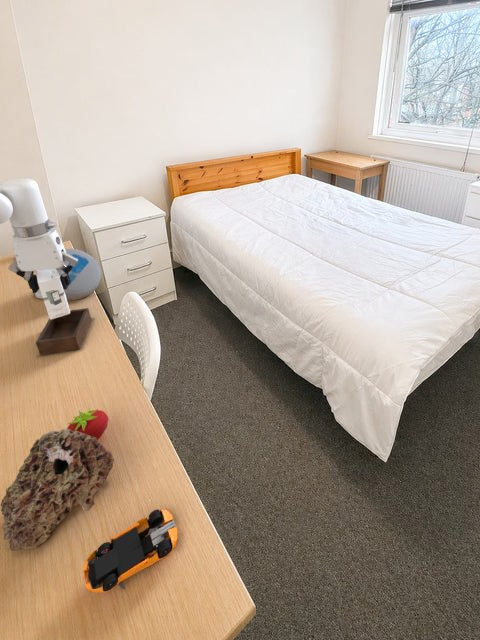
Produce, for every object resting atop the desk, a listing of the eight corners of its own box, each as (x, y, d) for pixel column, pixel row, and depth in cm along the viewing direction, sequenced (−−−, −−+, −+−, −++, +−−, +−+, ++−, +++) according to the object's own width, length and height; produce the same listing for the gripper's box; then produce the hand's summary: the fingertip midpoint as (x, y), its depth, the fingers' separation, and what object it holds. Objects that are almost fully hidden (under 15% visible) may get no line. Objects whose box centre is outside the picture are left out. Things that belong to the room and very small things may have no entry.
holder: (40, 355, 96) (35, 342, 94) (56, 324, 107) (52, 312, 105) (79, 349, 98) (75, 336, 96) (91, 320, 110) (88, 307, 108)
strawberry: (117, 443, 73) (107, 410, 69) (76, 466, 69) (62, 432, 65) (109, 423, 77) (99, 391, 73) (70, 444, 73) (57, 411, 69)
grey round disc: (28, 290, 110) (33, 284, 107) (49, 243, 121) (54, 236, 118) (90, 306, 121) (96, 301, 118) (104, 262, 132) (110, 256, 129)
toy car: (148, 604, 49) (150, 615, 50) (187, 511, 60) (188, 522, 61) (71, 583, 50) (75, 595, 52) (122, 496, 61) (125, 507, 63)
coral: (-26, 494, 61) (45, 539, 64) (-50, 534, 50) (36, 586, 53) (68, 401, 70) (125, 445, 73) (65, 418, 59) (133, 469, 62)
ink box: (46, 305, 100) (34, 269, 95) (66, 299, 103) (56, 264, 98) (49, 320, 94) (37, 283, 89) (71, 313, 97) (60, 277, 92)
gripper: (75, 220, 94) (90, 277, 101) (-2, 225, 89) (20, 285, 97) (66, 231, 87) (83, 291, 95) (-17, 237, 83) (8, 300, 90)
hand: (51, 288), depth 96 cm, fingers closed on ink box, 6 cm apart
